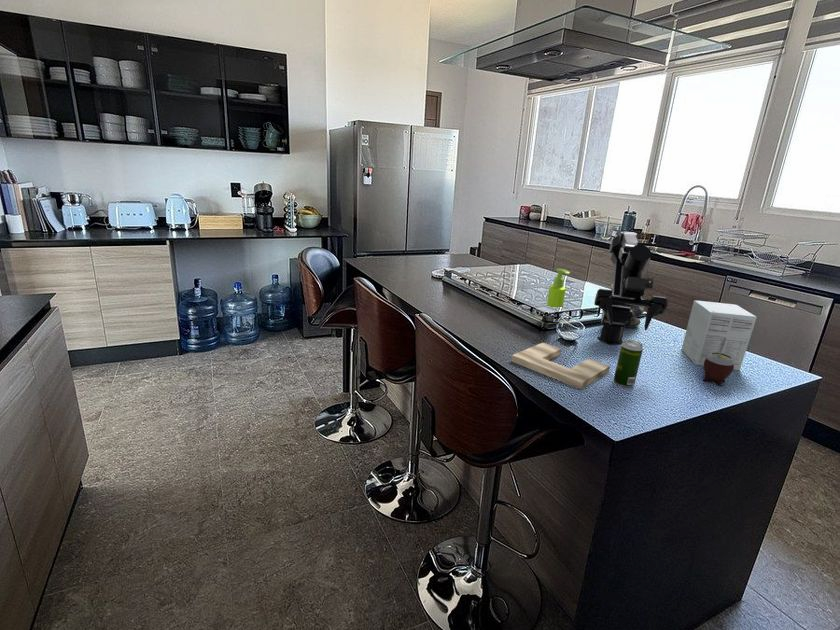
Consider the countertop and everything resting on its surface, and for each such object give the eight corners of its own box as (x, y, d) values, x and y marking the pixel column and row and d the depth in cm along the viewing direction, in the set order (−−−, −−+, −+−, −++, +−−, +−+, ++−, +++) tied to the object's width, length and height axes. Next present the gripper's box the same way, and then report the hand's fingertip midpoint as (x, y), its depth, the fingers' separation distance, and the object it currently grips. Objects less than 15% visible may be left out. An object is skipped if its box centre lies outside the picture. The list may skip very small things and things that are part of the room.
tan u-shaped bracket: (542, 348, 147) (543, 342, 146) (608, 372, 133) (610, 366, 132) (511, 361, 136) (512, 355, 135) (580, 389, 121) (582, 382, 120)
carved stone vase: (628, 313, 183) (631, 270, 176) (650, 324, 172) (654, 278, 165) (602, 319, 180) (604, 276, 173) (623, 331, 169) (625, 285, 162)
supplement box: (741, 371, 140) (758, 317, 134) (694, 365, 142) (710, 311, 136) (722, 354, 152) (737, 304, 147) (680, 349, 154) (693, 299, 149)
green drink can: (638, 386, 125) (648, 346, 121) (624, 389, 123) (634, 348, 119) (622, 378, 129) (631, 338, 126) (608, 381, 127) (617, 340, 123)
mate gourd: (717, 376, 135) (731, 328, 130) (736, 389, 127) (751, 339, 123) (693, 375, 134) (706, 327, 130) (710, 388, 127) (724, 337, 122)
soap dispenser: (553, 324, 170) (562, 272, 164) (541, 318, 176) (549, 267, 170) (565, 323, 173) (574, 271, 166) (552, 317, 179) (561, 266, 172)
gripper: (603, 261, 131) (598, 308, 125) (674, 269, 126) (673, 318, 120) (596, 282, 141) (591, 326, 134) (662, 290, 136) (661, 337, 129)
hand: (628, 327), depth 129 cm, fingers open, 9 cm apart
